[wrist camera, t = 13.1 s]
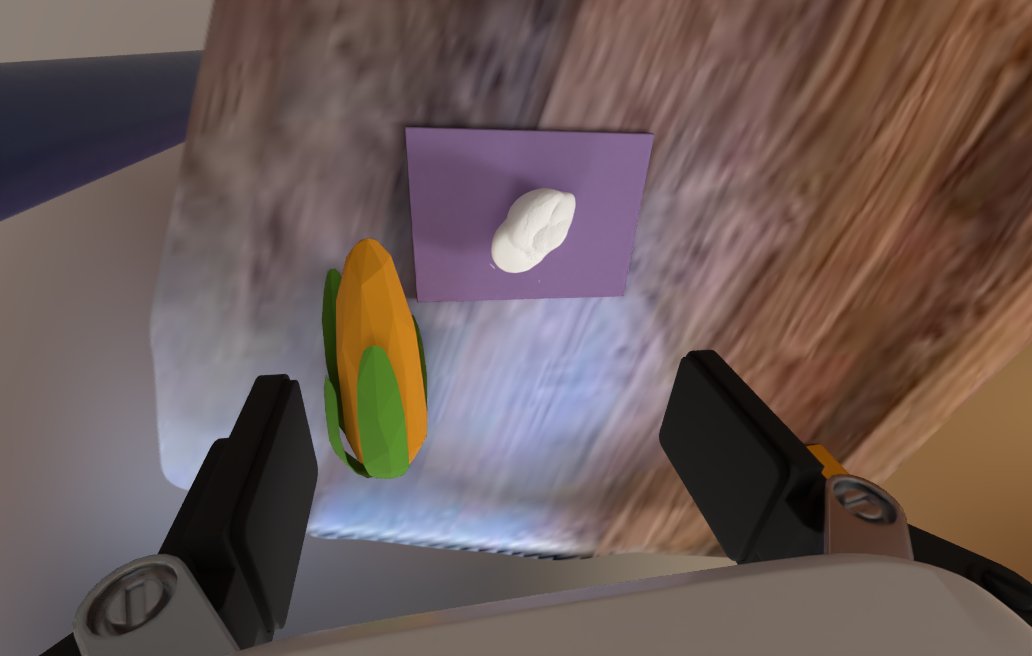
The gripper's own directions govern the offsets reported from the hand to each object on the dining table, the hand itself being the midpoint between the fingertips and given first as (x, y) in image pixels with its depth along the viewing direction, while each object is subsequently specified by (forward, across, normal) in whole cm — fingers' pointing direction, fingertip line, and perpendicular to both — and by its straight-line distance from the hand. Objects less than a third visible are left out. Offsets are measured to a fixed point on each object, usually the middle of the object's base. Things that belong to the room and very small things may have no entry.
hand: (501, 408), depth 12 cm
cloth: (+23, -6, +3) cm, 23 cm away
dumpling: (+22, -6, +3) cm, 23 cm away
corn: (+23, +6, +13) cm, 27 cm away
